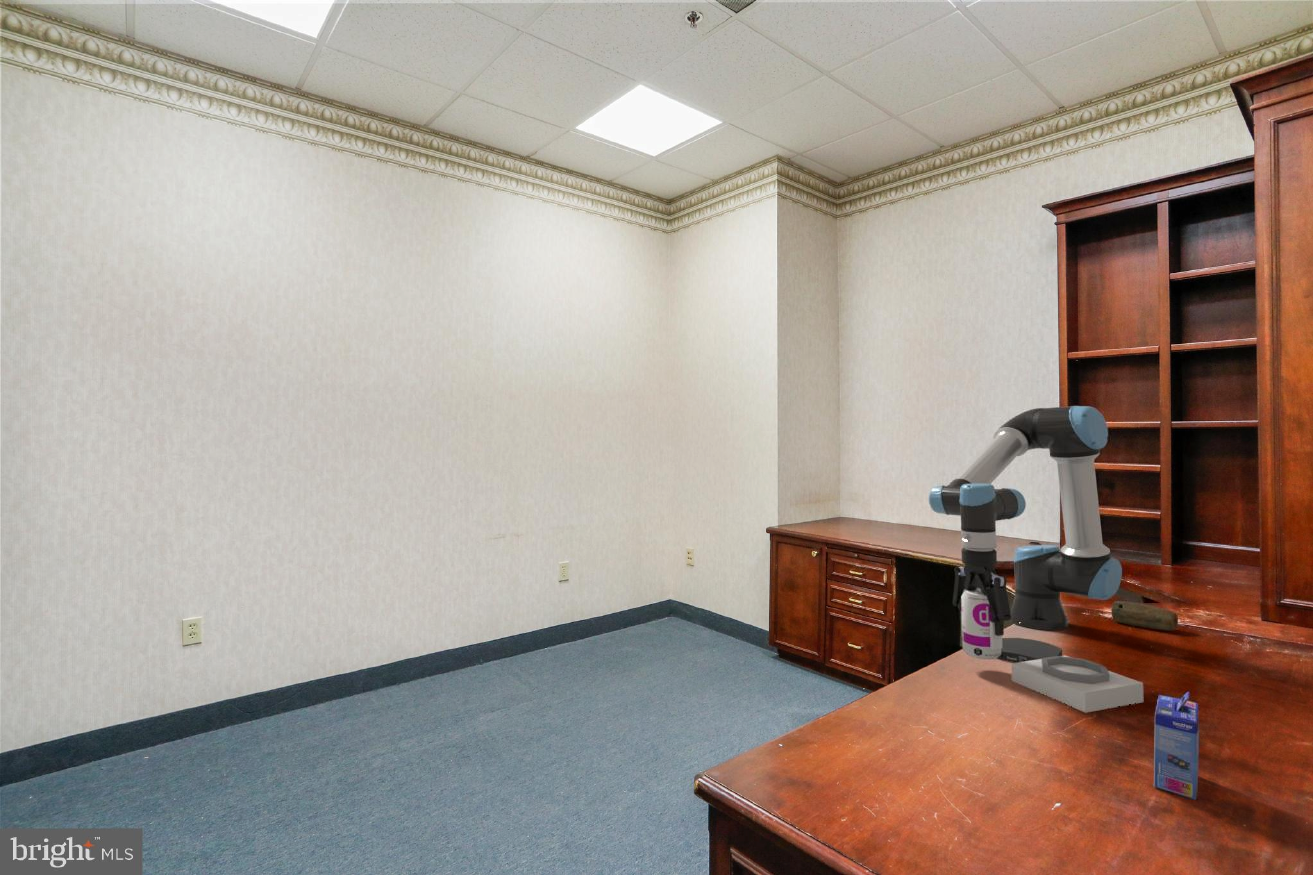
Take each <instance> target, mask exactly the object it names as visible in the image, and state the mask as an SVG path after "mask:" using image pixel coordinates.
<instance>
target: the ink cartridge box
mask: <svg viewBox="0 0 1313 875" xmlns="http://www.w3.org/2000/svg"><path fill="white" fill-rule="evenodd" d="M1189 699H1190V691H1187V692H1186V693H1185V694H1184V695H1183V696H1182V697H1181V698H1177V697H1172V696H1168V695H1162V694H1159V695H1158V698H1157V700H1156V702H1157V704H1156V706H1155V712H1154V735H1153V736H1154V740H1153V741H1154V743H1153V744H1154V745H1153V747H1154V750H1153V751H1154V753H1153V755H1154V756H1153V757H1154V759H1153V767H1154V768H1153V787H1154V788H1156V789H1160V790H1163V791H1165V792H1169V793H1173V794H1176V795H1178V796H1182V797H1185V798H1188V799H1191V800H1194V801H1195V800H1196V799H1197V794H1198V781H1199V752H1200V751H1199V750H1200V749H1199V748H1200V747H1199V746H1200V745H1199V744H1200V742H1199V740H1200V734H1199V733H1200V727H1199V726H1200V725H1199V724H1200V723H1199V703H1197V702H1193V701H1191V700H1189Z"/></svg>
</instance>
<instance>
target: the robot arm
mask: <svg viewBox="0 0 1313 875" xmlns="http://www.w3.org/2000/svg"><path fill="white" fill-rule="evenodd" d="M1108 429H1109V428H1108V426H1107V421H1106V420H1105V418H1104V416H1103V414H1102V413H1101V412H1100V411H1099V410H1098V409H1097V408H1096V407H1093V406H1090V405H1089V406H1087V405H1085V406H1084V405H1081V406H1080V405H1070V406H1057V407H1056V406H1055V407H1037V408H1032V409H1029V410H1026V411H1024V412H1020V413H1019V414H1018V415H1015V416H1014V417H1011V418H1010V419H1009V420H1007V421H1006V422H1005V423H1003V424H1002V425H1001V426H1000V427H999V428H998V429H997V430H996V431H995V432H994V434H993V438H992V440H991V441H990V442H989V443H988V444H987V445H986V446H985V447H984V448H983V449H982V450H981V451H980V452H979V453H978V454H977V455H976V457H974V458H973V460H971V461H970V462H969V464H967V466H966V467H964V468H963V470H961V471H960V472H959V474H958V475H957V476H956V477H954V479H953V480H952V481H951V482H950V483H949V484H948V485H936V486H933V488H932V489H931V490H930V492H929V495H928V503H929V506H930V508H931V510H932V511H933V512H935V513H936V514H943V515H946V516H949V515H950V516H960V533H961V534H960V536H961V542H960V543H961V546H962V549H961V563H962V564H963V565H964V566H956V567H954V569H953V570H954V576H955V579H954V587H953V596H952V605H953V606H954V607H955V606H956V607H957V608H958V610H959V621H960V624H961V627H962V605H961V596H962V594H963V593H964V590H967V591H971V590H976V589H980V590H981V592H982V593H984V596H987V599H988V601H989V610H990V613H991V616H992V619H993V620H990V647H991V649H993V650H995V649H1001V648H1002V638H1003V636H1004V633H1005V630H1004V622H1006V621H1009V622H1011V623H1013V624H1014V625H1017V624H1018V626H1021V627H1025V628H1029V629H1035V630H1047V631H1051V630H1052V631H1059V630H1065V629H1067V628H1068V627H1069V621H1068V620H1069V619H1068V617H1067V615H1066V613H1065V608H1064V606H1063V603H1062V600H1061V593H1062V594H1067V595H1072V596H1078V597H1083V598H1088V599H1090V600H1095V599H1096V600H1101V601H1106V600H1110V599H1112V597H1114V596H1115V595H1116V593H1117V592H1118V589H1119V588H1120V585H1121V582H1122V575H1123V568H1122V564H1121V562H1120V561H1119V560H1118V559H1117V558H1115V557H1112V556H1111V550H1110V548H1109V547H1107V546H1106V545H1105V544H1104V543H1103V535H1102V526H1101V515H1100V507H1099V506H1100V505H1099V494H1098V488H1097V487H1098V484H1097V476H1096V469H1095V459H1096V458H1098V457H1099V455H1100V454H1101V452H1100V451H1101V449H1103V448H1105V447H1106V445H1107V443H1108V437H1109V430H1108ZM1035 449H1049V456H1050V458H1051V459H1053V460H1054V461H1055V462H1056V465H1057V473H1058V482H1059V493H1060V494H1059V495H1060V502H1061V512H1062V519H1063V520H1062V521H1063V529H1064V537H1065V538H1064V539H1065V544H1064V545H1063V546H1061V548H1060V546H1058V545H1054V544H1053V545H1051V544H1043V545H1042V544H1040V545H1039V544H1037V545H1025V546H1019V547H1017V548H1016V549H1015V550H1014V555H1013V556H1014V557H1013V564H1014V565H1013V567H1014V569H1013V570H1014V571H1013V572H1014V598H1013V601H1012V603H1011V607H1010V602H1009V597H1008V590H1007V581H1008V579H1007V577H1006V576H999V575H998V574H996V570H995V567H996V566H997V564H998V560H997V559H998V558H997V557H998V556H997V550H996V548H997V530H996V529H997V528H996V526H997V525H996V523H997V522H998V521H1004V520H1005V521H1006V520H1011V519H1014V518H1018V517H1020V516H1021V515H1022V514H1023V513H1024V512H1025V511H1026V510H1025V509H1026V506H1027V504H1026V499H1025V497H1024V495H1023V494H1022V492H1020V491H1019V490H1017V489H1015V488H1006V487H1003V488H995V486H994V485H993V484H992V483H993V482H994V481H995V480H996V479H997V478H998V477H999V476H1000V474H1002V473H1003V471H1004V470H1005V469H1006V468H1007V467H1008V466H1009V465H1010V464H1011V463H1012V462H1013V461H1014V460H1015V459H1016V458H1017V457H1020V456H1023V455H1024V454H1026V453H1027V452H1028V451H1029V450H1035ZM996 521H997V522H996ZM997 615H998V616H997ZM1019 622H1021V623H1020V624H1019Z"/></svg>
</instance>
